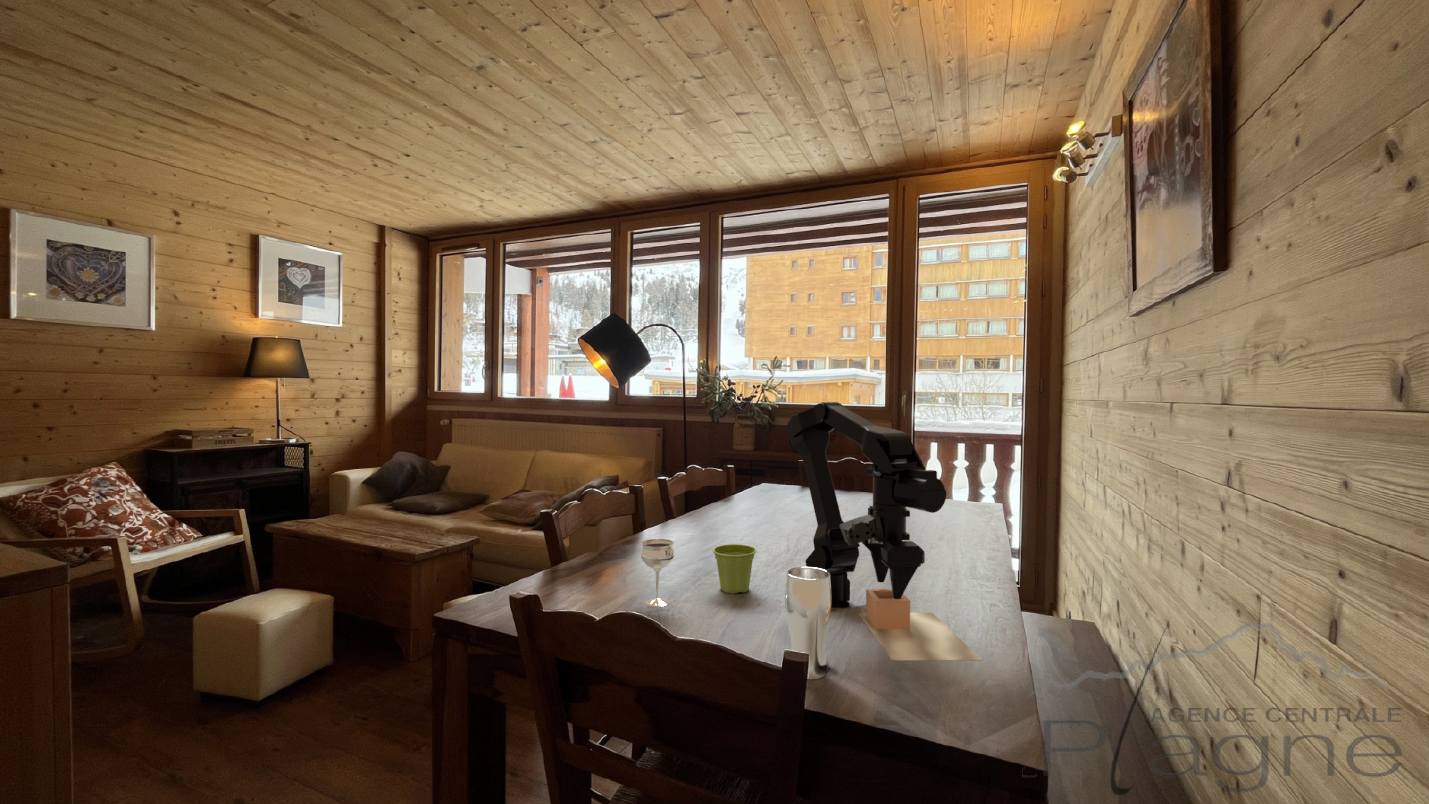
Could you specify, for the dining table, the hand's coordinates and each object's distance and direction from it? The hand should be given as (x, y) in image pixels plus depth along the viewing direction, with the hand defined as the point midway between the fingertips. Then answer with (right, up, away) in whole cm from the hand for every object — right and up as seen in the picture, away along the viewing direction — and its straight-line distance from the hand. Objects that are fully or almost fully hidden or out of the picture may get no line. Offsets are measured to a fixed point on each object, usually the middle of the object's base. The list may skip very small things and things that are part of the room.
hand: (888, 590), depth 108 cm
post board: (+3, -8, -5) cm, 9 cm away
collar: (0, -6, 0) cm, 6 cm away
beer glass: (-17, -8, -15) cm, 24 cm away
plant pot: (-27, -7, +23) cm, 36 cm away
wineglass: (-42, -7, +14) cm, 45 cm away
